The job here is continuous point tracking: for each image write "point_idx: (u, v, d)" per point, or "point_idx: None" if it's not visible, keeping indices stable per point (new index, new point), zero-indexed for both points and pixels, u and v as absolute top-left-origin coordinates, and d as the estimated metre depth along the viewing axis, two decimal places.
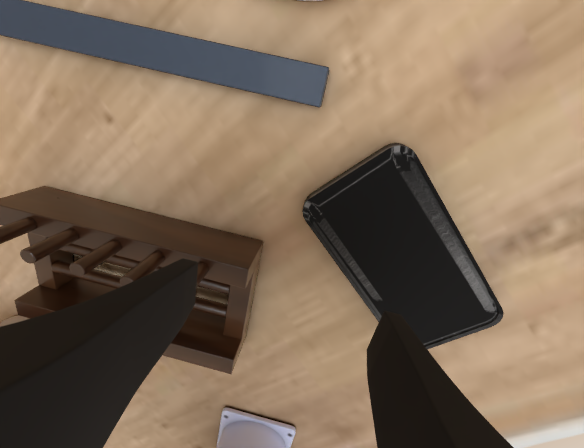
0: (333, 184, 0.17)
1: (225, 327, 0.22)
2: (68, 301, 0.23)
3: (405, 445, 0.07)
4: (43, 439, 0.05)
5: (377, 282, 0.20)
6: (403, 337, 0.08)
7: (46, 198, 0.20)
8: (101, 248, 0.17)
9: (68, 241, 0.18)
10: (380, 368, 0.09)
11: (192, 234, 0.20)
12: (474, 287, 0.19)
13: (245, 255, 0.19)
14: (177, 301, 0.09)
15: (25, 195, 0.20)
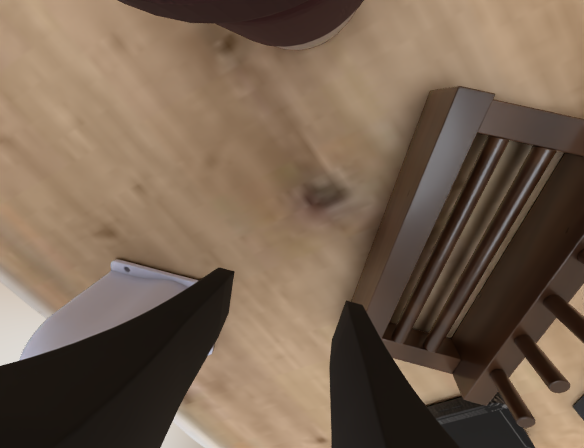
0: None
1: (381, 339, 0.20)
2: None
3: (349, 429, 0.07)
4: None
5: None
6: (358, 325, 0.08)
7: None
8: None
9: None
10: (338, 357, 0.09)
11: None
12: None
13: None
14: (217, 312, 0.09)
15: None
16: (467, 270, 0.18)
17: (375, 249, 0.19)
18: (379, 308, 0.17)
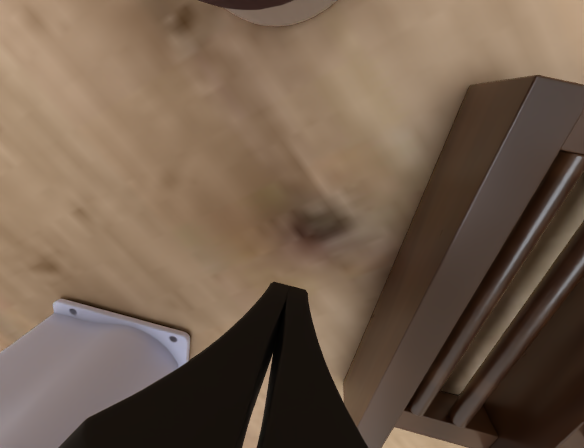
0: None
1: None
2: None
3: (267, 406, 0.07)
4: None
5: None
6: (291, 308, 0.09)
7: None
8: None
9: None
10: (277, 340, 0.09)
11: None
12: None
13: None
14: (278, 328, 0.09)
15: None
16: (514, 330, 0.13)
17: (388, 298, 0.14)
18: (395, 386, 0.12)
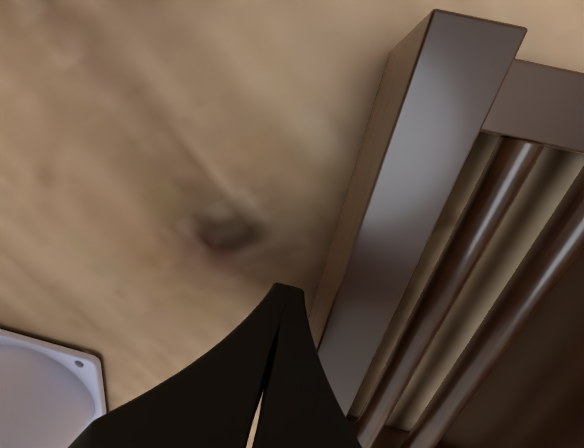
0: None
1: None
2: None
3: (262, 405, 0.07)
4: None
5: None
6: (287, 306, 0.09)
7: None
8: None
9: None
10: None
11: None
12: None
13: None
14: None
15: None
16: (461, 366, 0.10)
17: (310, 323, 0.11)
18: None
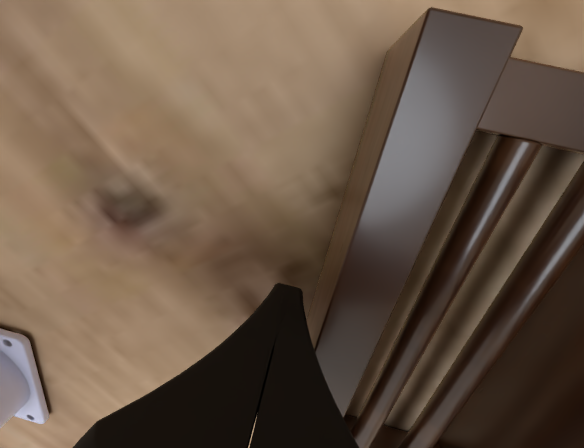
0: None
1: None
2: None
3: None
4: None
5: None
6: (285, 306, 0.09)
7: None
8: None
9: None
10: None
11: None
12: None
13: None
14: None
15: None
16: (460, 366, 0.10)
17: (309, 323, 0.11)
18: None
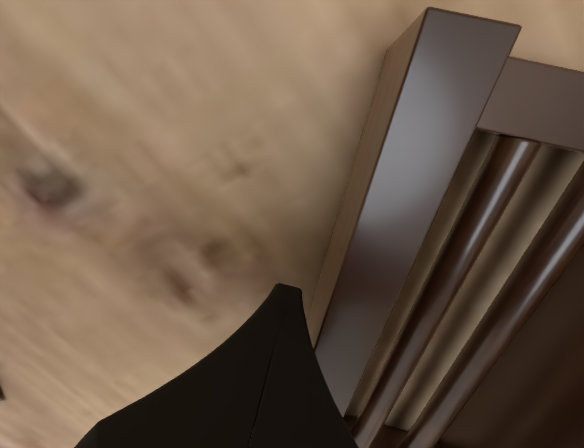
0: None
1: None
2: None
3: (259, 404, 0.07)
4: None
5: None
6: (285, 306, 0.09)
7: None
8: None
9: None
10: None
11: None
12: None
13: None
14: None
15: None
16: (460, 366, 0.10)
17: (308, 323, 0.11)
18: None
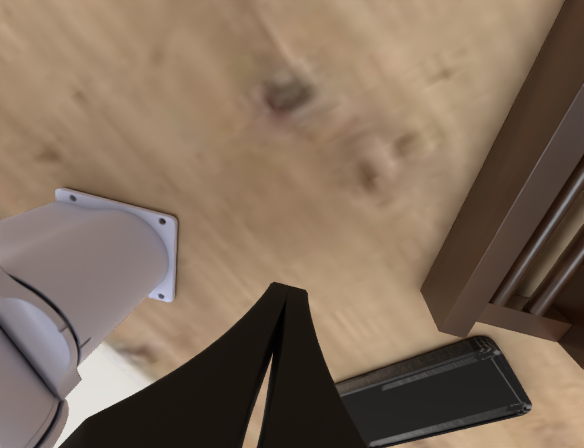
0: (511, 370, 0.20)
1: None
2: None
3: (267, 406, 0.07)
4: None
5: (402, 388, 0.23)
6: (291, 308, 0.09)
7: None
8: None
9: None
10: (277, 340, 0.09)
11: None
12: (393, 437, 0.25)
13: None
14: (278, 328, 0.09)
15: None
16: None
17: (481, 190, 0.16)
18: (499, 254, 0.14)
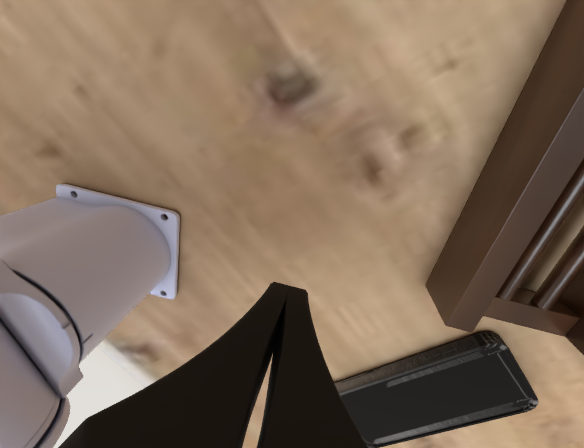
0: (517, 365, 0.20)
1: None
2: None
3: (267, 406, 0.07)
4: None
5: (406, 385, 0.22)
6: (291, 308, 0.09)
7: None
8: None
9: None
10: (277, 340, 0.09)
11: None
12: (397, 434, 0.25)
13: None
14: (278, 328, 0.09)
15: None
16: None
17: (488, 182, 0.16)
18: (507, 246, 0.14)
